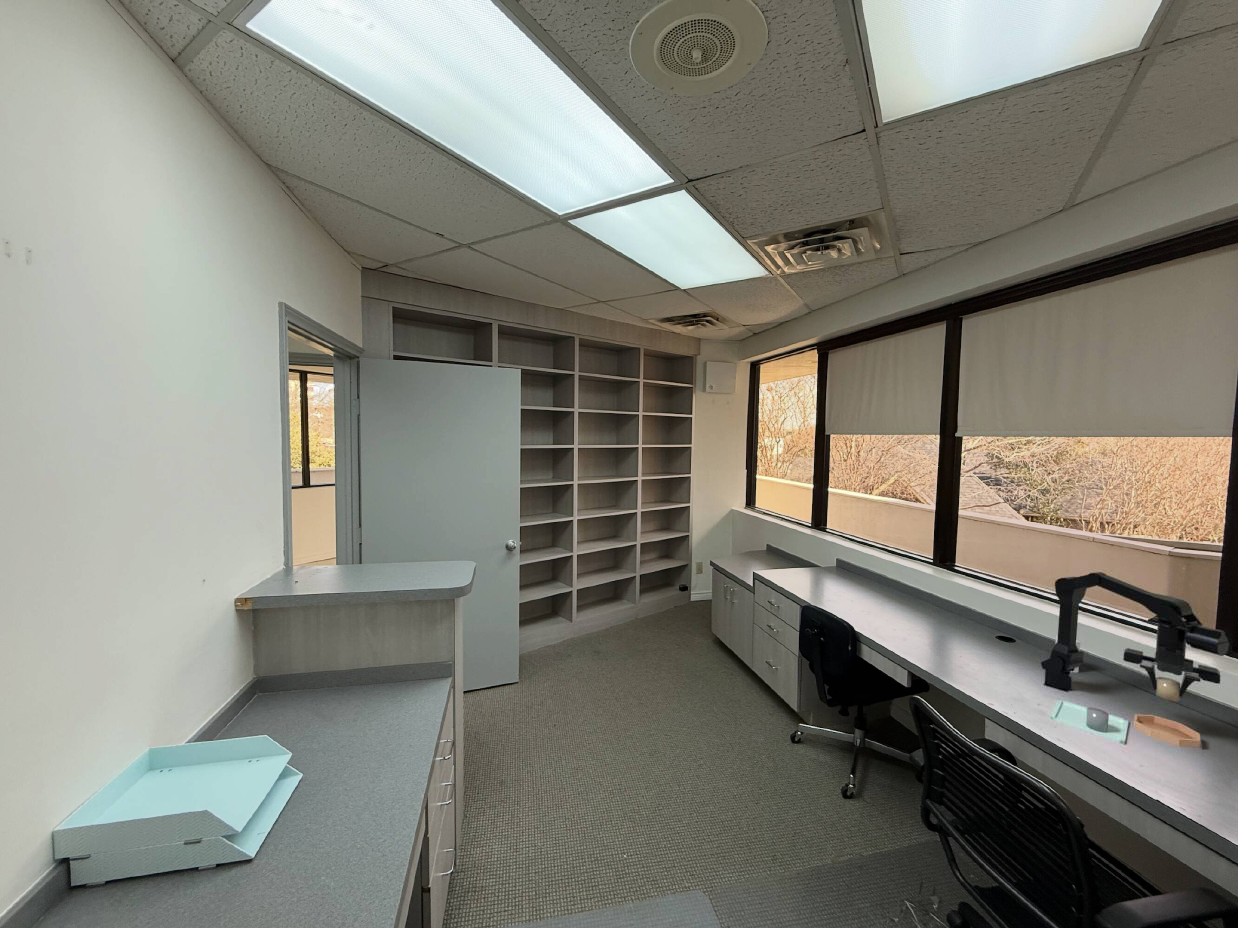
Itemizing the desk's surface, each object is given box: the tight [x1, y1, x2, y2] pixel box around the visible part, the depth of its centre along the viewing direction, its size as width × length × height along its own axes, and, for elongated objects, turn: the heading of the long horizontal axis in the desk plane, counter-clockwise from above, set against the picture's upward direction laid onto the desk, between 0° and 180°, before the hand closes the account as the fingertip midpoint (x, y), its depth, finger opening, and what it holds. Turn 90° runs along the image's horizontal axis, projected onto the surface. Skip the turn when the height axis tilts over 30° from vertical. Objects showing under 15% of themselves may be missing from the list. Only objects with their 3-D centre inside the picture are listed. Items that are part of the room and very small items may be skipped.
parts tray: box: [1049, 698, 1130, 745], centre depth 148 cm, size 16×17×1 cm
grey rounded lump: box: [1086, 707, 1109, 733], centre depth 144 cm, size 5×5×5 cm
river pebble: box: [1155, 676, 1181, 702], centre depth 143 cm, size 5×5×5 cm
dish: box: [1132, 713, 1201, 748], centre depth 142 cm, size 13×13×2 cm
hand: (1167, 692), depth 144 cm, fingers closed on river pebble, 5 cm apart
